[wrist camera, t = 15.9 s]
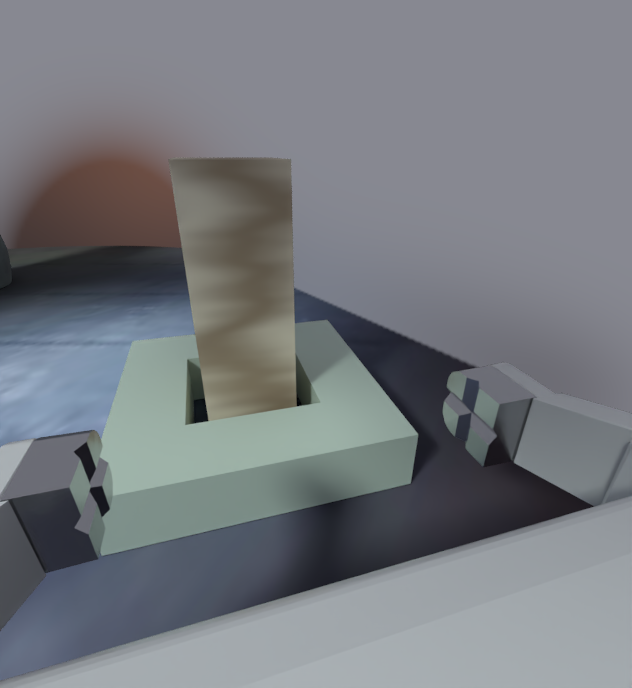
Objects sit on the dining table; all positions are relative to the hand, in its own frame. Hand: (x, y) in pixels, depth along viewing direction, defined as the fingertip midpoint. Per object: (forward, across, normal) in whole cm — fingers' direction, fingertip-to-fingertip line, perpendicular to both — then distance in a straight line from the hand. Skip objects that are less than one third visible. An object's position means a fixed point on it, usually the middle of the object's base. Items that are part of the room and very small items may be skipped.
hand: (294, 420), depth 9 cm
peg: (+11, 0, +9) cm, 14 cm away
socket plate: (+11, 0, +9) cm, 14 cm away
